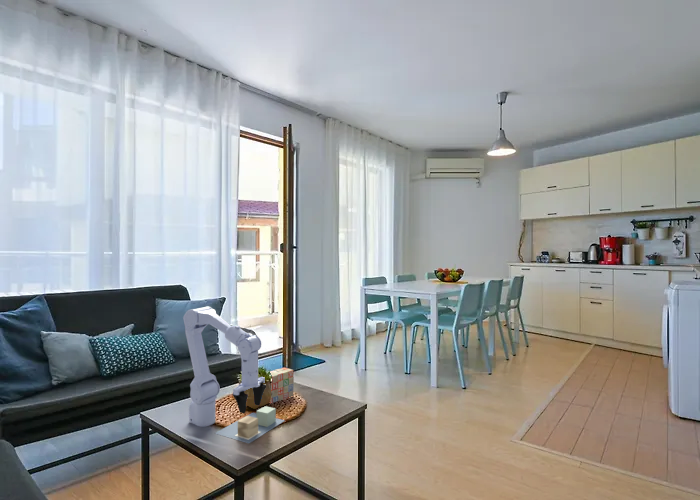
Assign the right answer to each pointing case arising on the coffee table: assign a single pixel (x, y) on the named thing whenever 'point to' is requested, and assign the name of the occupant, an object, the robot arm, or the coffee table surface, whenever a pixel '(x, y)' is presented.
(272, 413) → the sage block
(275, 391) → the stack of blocks
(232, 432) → the board
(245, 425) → the maple block
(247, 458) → the coffee table surface
